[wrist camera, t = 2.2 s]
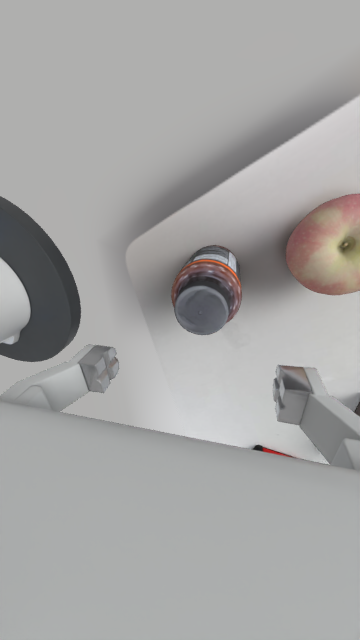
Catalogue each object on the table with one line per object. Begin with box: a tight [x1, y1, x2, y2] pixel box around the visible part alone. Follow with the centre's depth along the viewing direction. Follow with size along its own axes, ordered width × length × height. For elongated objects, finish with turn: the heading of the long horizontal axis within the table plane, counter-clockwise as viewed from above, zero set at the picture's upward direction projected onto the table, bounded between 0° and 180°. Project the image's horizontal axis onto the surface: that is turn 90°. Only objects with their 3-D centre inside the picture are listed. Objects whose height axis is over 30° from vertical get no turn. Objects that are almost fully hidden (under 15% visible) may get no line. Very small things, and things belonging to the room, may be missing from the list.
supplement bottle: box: [171, 245, 242, 335], centre depth 20 cm, size 6×6×11 cm
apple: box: [286, 194, 360, 295], centre depth 18 cm, size 8×8×8 cm
